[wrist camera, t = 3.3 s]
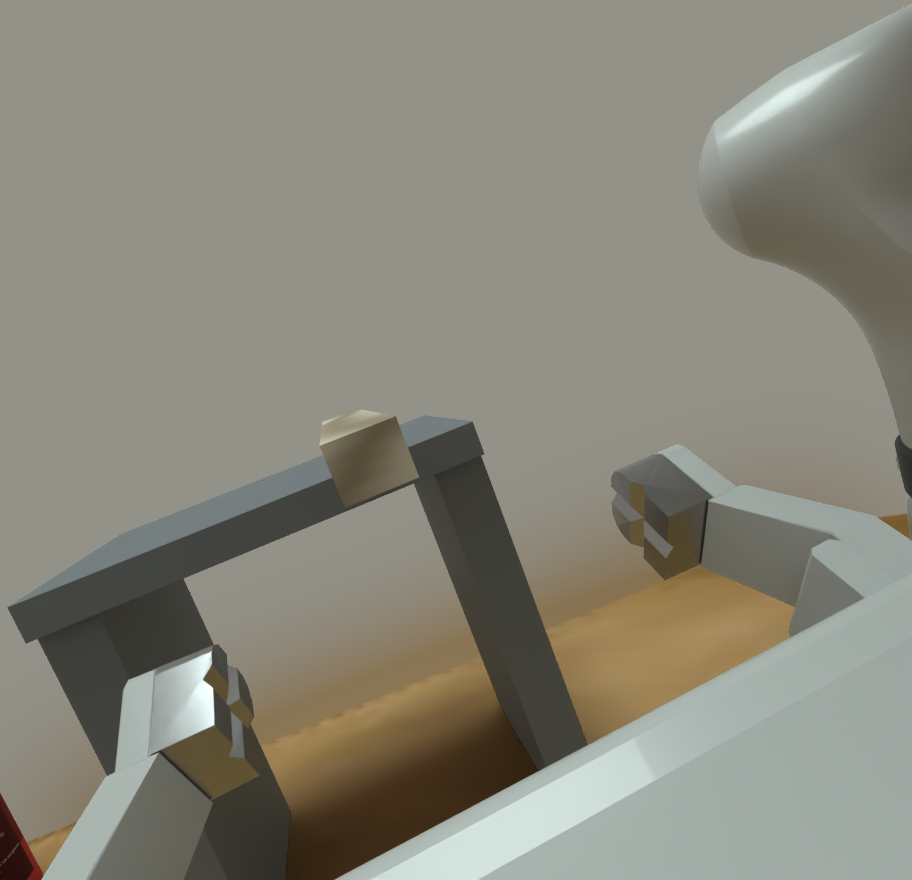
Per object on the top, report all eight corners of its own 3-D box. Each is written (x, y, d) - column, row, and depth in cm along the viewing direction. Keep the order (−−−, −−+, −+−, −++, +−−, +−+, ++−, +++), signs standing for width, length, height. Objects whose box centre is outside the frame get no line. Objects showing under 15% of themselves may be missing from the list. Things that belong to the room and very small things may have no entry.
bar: (368, 437, 47) (357, 408, 47) (419, 477, 22) (395, 416, 22) (333, 450, 47) (322, 422, 46) (345, 507, 21) (319, 446, 21)
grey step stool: (525, 683, 52) (424, 415, 48) (613, 806, 36) (472, 421, 33) (256, 818, 47) (122, 533, 44) (222, 1026, 32) (7, 607, 28)
